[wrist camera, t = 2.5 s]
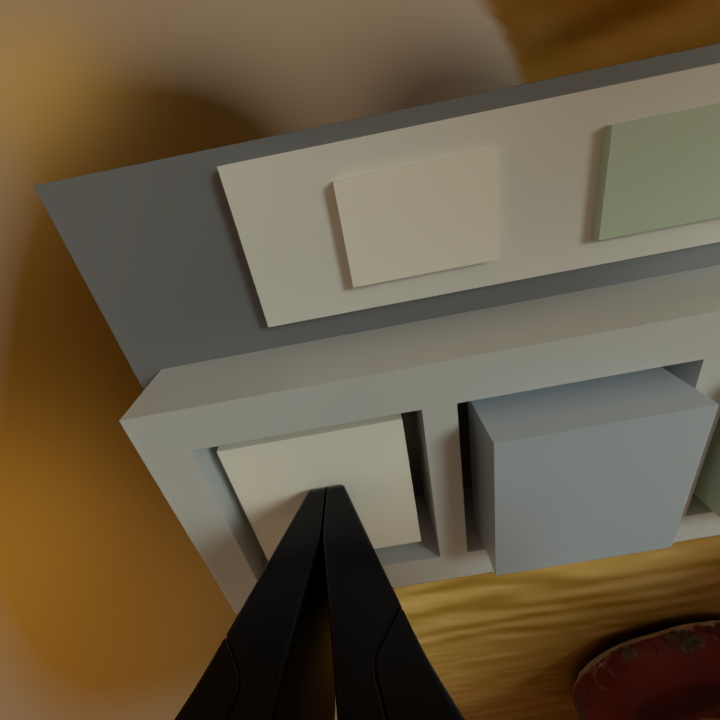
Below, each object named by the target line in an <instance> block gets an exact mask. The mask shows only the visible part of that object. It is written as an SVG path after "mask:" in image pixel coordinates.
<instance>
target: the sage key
mask: <svg viewBox="0 0 720 720" xmlns="http://www.w3.org/2000/svg"><path fill="white" fill-rule="evenodd" d="M693 493H694V494H695V495H696V496H697V497H698V498H699V499H700V500H701V501H702V502H703V503H704V504H706V505H707V506H708V507H709V508H710V509H711V510H712V511H713V512H714V513H715V514H716V515H717V516H718V517H719V518H720V416H719V419H718V421H717V424H716V427H715V430H714V433H713V436H712V439H711V442H710V445H709V448H708V451H707V454H706V457H705V460H704V463H703V466H702V469H701V472H700V475H699V478H698V481H697V483H696V486H695V489H694V492H693Z"/></svg>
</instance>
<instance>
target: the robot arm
mask: <svg viewBox="0 0 720 720" xmlns="http://www.w3.org/2000/svg"><path fill="white" fill-rule="evenodd" d="M335 695H336V706H337V718H338V720H465V719H464V717H463V716H462V714H461V713H460V711H459V709H458V708H457V706H456V705H455V703H454V702H453V700H452V698H451V697H450V695H449V694H448V692H447V690H446V689H445V687H444V686H443V684H442V682H441V681H440V679H439V677H438V676H437V674H436V672H435V670H434V669H433V667H432V665H431V664H430V662H429V660H428V659H427V657H426V655H425V653H424V651H423V649H422V647H421V645H420V643H419V641H418V640H417V638H416V636H415V634H414V632H413V630H412V628H411V626H410V623H409V621H408V619H407V617H406V615H405V613H404V611H403V610H402V607H401V605H400V603H399V601H398V598H397V596H396V594H395V592H394V590H393V588H392V586H391V584H390V581H389V579H388V577H387V575H386V573H385V571H384V569H383V567H382V565H381V562H380V560H379V558H378V556H377V554H376V552H375V550H374V548H373V545H372V543H371V541H370V539H369V537H368V535H367V533H366V531H365V529H364V526H363V524H362V522H361V520H360V518H359V516H358V514H357V512H356V509H355V507H354V505H353V503H352V501H351V499H350V497H349V495H348V492H347V490H346V488H345V486H344V485H338V486H332V487H328V488H327V489H325V488H321V489H315V490H310V491H309V492H308V493H307V495H306V497H305V499H304V500H303V502H302V504H301V506H300V507H299V509H298V511H297V513H296V514H295V516H294V518H293V520H292V521H291V523H290V525H289V527H288V528H287V530H286V532H285V533H284V535H283V537H282V539H281V540H280V542H279V544H278V546H277V547H276V549H275V551H274V553H273V554H272V556H271V558H270V560H269V561H268V563H267V565H266V567H265V568H264V570H263V572H262V574H261V575H260V577H259V579H258V581H257V582H256V584H255V586H254V588H253V589H252V591H251V593H250V595H249V596H248V598H247V600H246V602H245V603H244V605H243V607H242V609H241V610H240V612H239V614H238V616H237V617H236V619H235V621H234V623H233V624H232V626H231V628H230V630H229V632H228V634H227V638H225V639H224V640H223V641H222V643H221V645H220V647H219V648H218V650H217V652H216V654H215V656H214V657H213V659H212V661H211V662H210V664H209V666H208V667H207V669H206V671H205V672H204V674H203V676H202V677H201V679H200V681H199V683H198V684H197V686H196V687H195V689H194V691H193V692H192V694H191V695H190V697H189V698H188V700H187V701H186V703H185V705H184V706H183V707H182V709H181V711H180V712H179V714H178V715H177V716H176V718H175V720H334V719H335V718H334V717H335Z"/></svg>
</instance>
